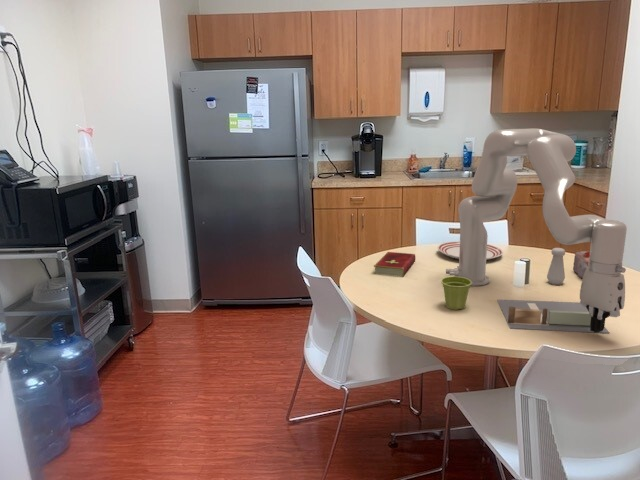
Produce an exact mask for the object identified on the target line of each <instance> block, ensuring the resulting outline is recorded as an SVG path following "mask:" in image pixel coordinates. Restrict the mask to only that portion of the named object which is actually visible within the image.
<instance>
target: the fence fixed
mask: <svg viewBox="0 0 640 480" xmlns="http://www.w3.org/2000/svg"><path fill="white" fill-rule="evenodd" d="M547 311H548V309H546V308H544V309H543V315H542V324H546V321H547ZM540 320H541V310H533V309H516V308H515V307H509V315H508V322H509V323H526V324H540Z"/></svg>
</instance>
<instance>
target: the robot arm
mask: <svg viewBox="0 0 640 480" xmlns="http://www.w3.org/2000/svg"><path fill="white" fill-rule="evenodd" d="M576 153H577V146H576V143H575V141H574V140H573V139H572V138H571V137H570V136H568V135H567V134H564V133H559V132H555V131H550V130H546V129H543V128H542V129H541V128H537V127H536V128H531V127H530V128H509V129H507V128H506V129H498V130H493V131H491V132H490V133H489V134H488V135H487V136H486V139H485V141H484V144H483V150H482V153H481V157H480V159H479V162H478V165H477V167H476V170H475V173H474V176H473V178H472V182H471V191H472V193H473V196H468V197H466V198H464V199H462V200H461V201H460V203H459V205H458V208H457V211H458V218H459V226H460V227H459V229H460V231H459V241H460V253H459V260H458V265H457V267H456V268H455V267H454V269H452V268H446V269H445V275H449V276H454V277H464V278H467V279H469V280H471V281H472V284H471V285H470V287H473V286H475V287H478V286H484V285H488V284H489V283H490V277H489V276H488V275H486V273H487V272H486V270H487V269H486V268H487V260H486V256H487V244H488V230H487V229H486V227H485V225H484V223H485V222H490V221H498V220H500V219H502V218H503V217H504V216H505V215H506V213H507V212H508V209H509V208H510V205H511V202H512V200H513V198H514V196H515V193H516V191H517V187H518V177H517V173H516V172H515V171H514V170H513V169H511V168H509V167H507V165H508V157H524V156H527V157H528V160H529V162H530V164H531V166H532V167H533V168H532V169H534V172H535V173H536V176H537V177H538V180H539V182H540V184H541V185H542V188H543V190H544V195H543V199H542V216H543V219H544V221H545V224H546V226H547V229H548V230H549V232H550V233H551V236H552V238H554V239H555V240H556V242H558V243H559V244H562V245H564V246H571V245H577V244H582V243H590V250H589V252H590V256H589V264H588V268H587V269H586V271H585V273H584V276H583V278H581V279H582V280H581V284H580V289H579V300H580V301H579V302H580V304H581V305H583V306H584V307H586V308H587V310H588V311H589V315H590V316H591V322H590V326H591V327H590V330H591V331H594V332H595V333H594V334H598V333H597V332H600V331H603V329H604V327H606V324H605V323H606V319H608V318H609V317H611V318H617V317H620V316H621V311H620V310H624V308H625V303H626V302H625V301H626V282H625V281H626V280H625V279H626V278H625V273H626V270H627V269H626V267H624V266H623V260H624V259H623V258H624V253H625V245H626V244H625V243H626V239H627V238H626V237H627V236H626V235H627V228H628V227H627V225H626V224H625V222H623V221H619V220H614V219H606V218H604V217H602V216H599V215H597V214H581V215H575V216H574V215H573V216H570V214H569V213H568V211H567V209H566V207H565V203H564V194H565V192H566V190H568V189H569V188H570V187H572V186H573V185H574V184H575V181H576V176H575V174H574V171H572V168H571V166H570V165H569V163H568V162H570V161H572V160H573V159H574V157H575V155H576Z"/></svg>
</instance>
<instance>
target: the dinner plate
mask: <svg viewBox="0 0 640 480" xmlns="http://www.w3.org/2000/svg"><path fill="white" fill-rule="evenodd" d="M437 250H438V251H439V252H440V253H441V254H443V255H445V256H447V257H450V258H452V259H454V258H455V260H458V261H459V253H460V240H458V241H447V242H443V243H440V244H439V245H438V246H437ZM503 254H504V251H503V250H502V249H501V248H499V247H498V246H496V245H492V244H489V243H487V256H486V261H487V260H491V259H495V258H498V257H501V256H502V255H503Z"/></svg>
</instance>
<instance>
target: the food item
mask: <svg viewBox="0 0 640 480" xmlns="http://www.w3.org/2000/svg"><path fill="white" fill-rule="evenodd" d="M589 256H590V251H586V250H582V251H577V252H575V253H574V260H573V265H572V266H573V267H572V271H573V272H575V273H576V274H577V276H578V277H577V278H580V279H583V276H584V273H585V271H586V269H587V268H588V264H589Z"/></svg>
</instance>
